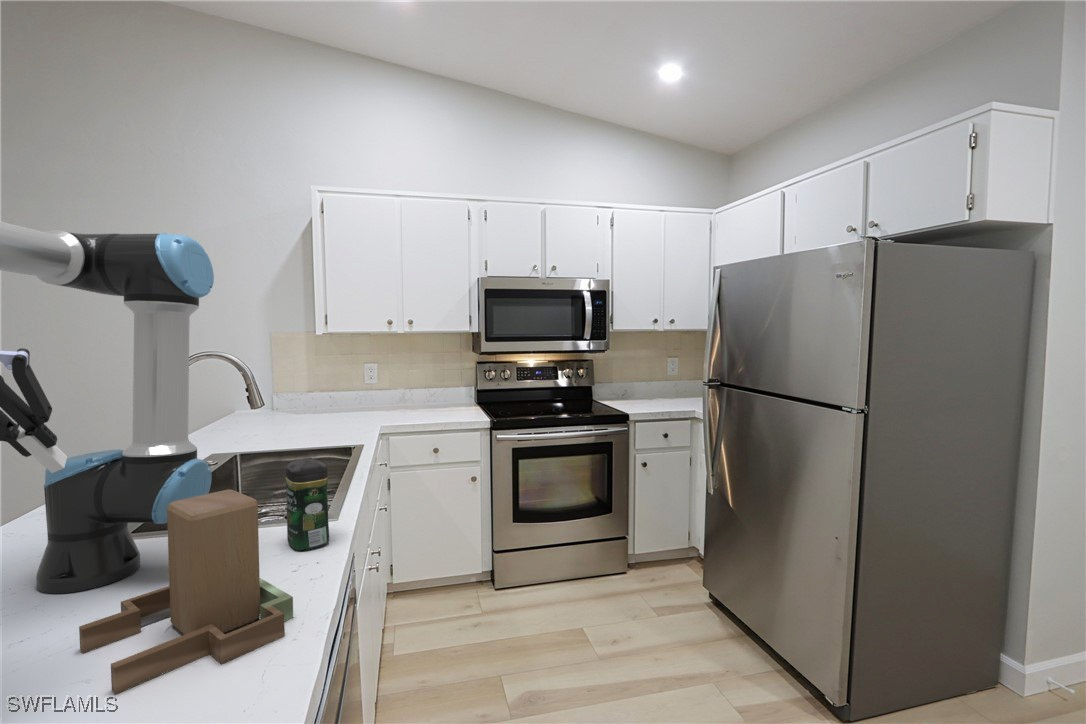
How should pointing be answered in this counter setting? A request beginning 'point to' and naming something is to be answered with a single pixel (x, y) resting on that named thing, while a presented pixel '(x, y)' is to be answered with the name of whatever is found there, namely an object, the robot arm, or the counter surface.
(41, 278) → the robot arm
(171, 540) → the block
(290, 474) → the coffee jar
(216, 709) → the counter surface
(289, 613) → the trap lane
